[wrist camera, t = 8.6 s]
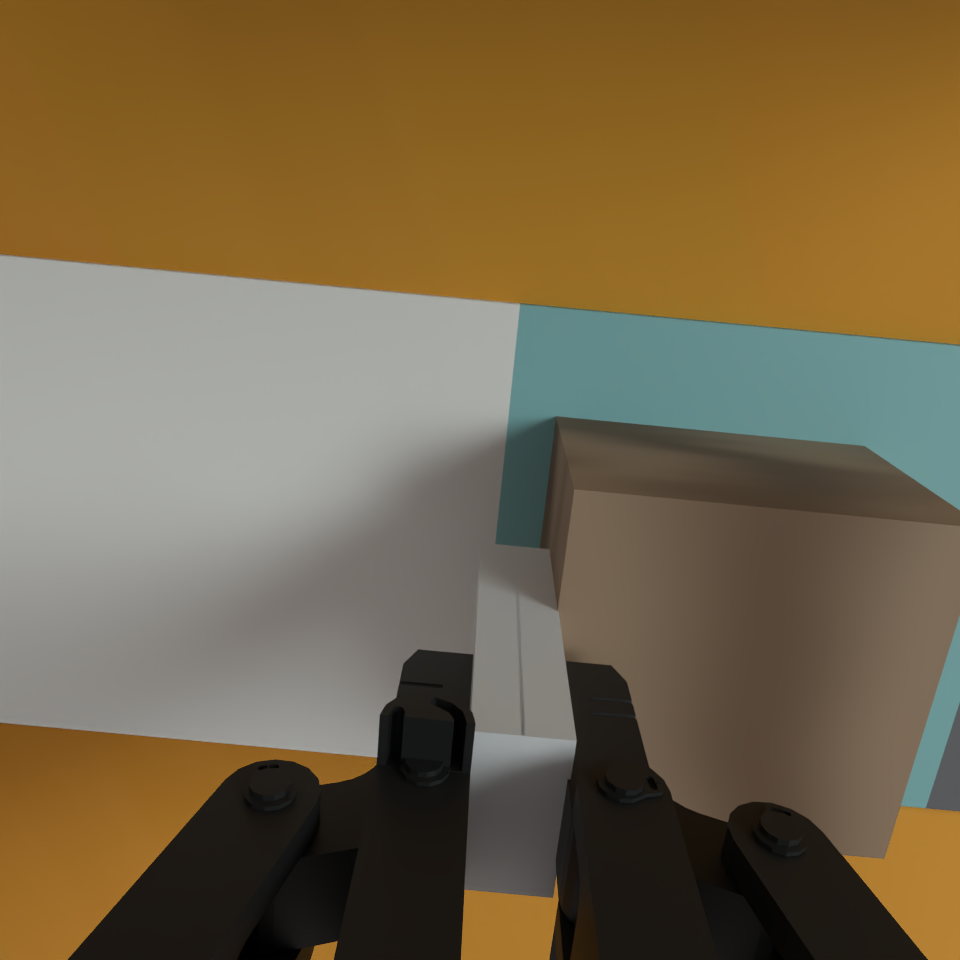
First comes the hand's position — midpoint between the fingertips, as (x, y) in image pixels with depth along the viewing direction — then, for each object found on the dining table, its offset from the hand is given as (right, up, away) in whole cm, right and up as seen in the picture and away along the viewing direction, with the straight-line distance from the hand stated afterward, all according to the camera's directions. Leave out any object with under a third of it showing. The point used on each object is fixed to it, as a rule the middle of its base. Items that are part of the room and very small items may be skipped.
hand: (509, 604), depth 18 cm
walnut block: (+4, 0, +2) cm, 5 cm away
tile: (-8, +2, +2) cm, 9 cm away
